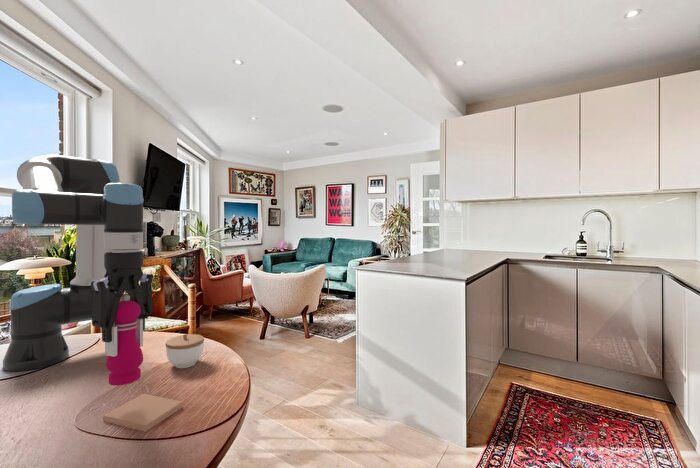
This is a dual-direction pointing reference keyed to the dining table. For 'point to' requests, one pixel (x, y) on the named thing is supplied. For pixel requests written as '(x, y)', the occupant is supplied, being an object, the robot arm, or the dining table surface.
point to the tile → (143, 412)
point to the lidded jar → (184, 350)
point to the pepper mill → (126, 345)
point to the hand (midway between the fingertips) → (124, 350)
